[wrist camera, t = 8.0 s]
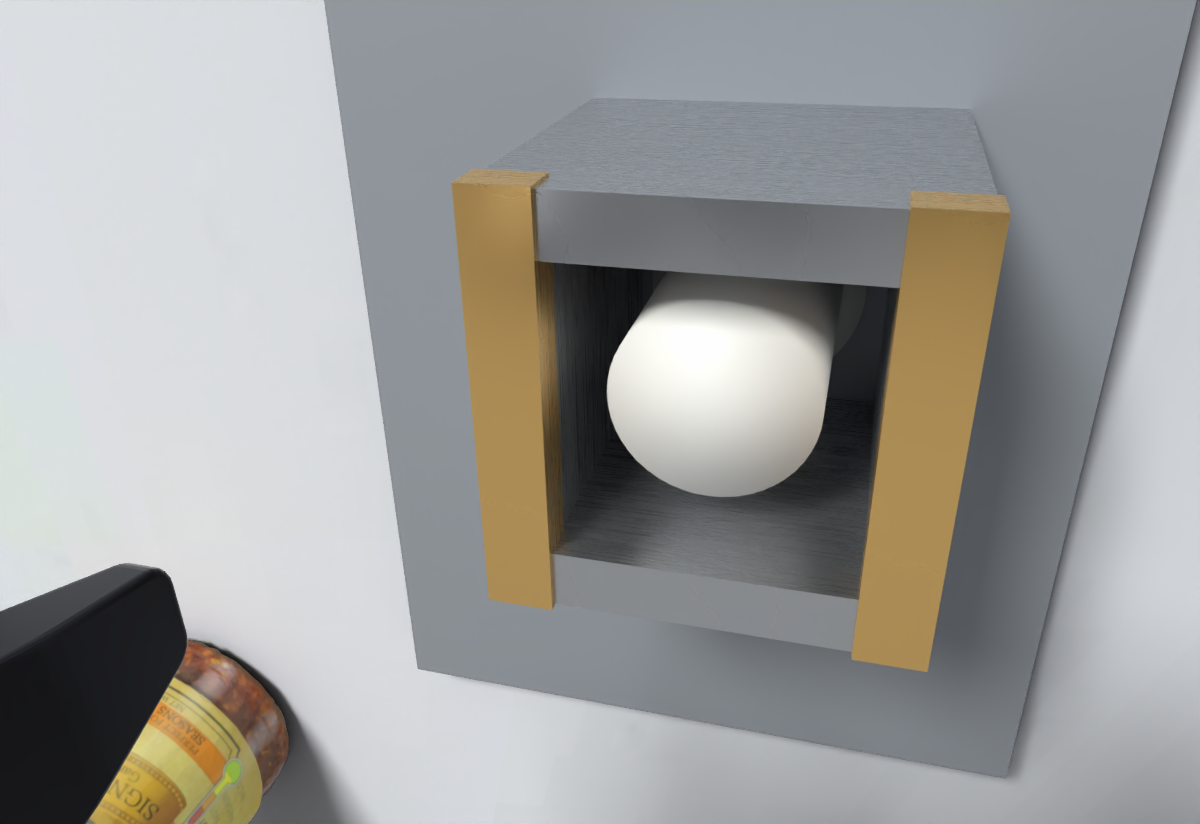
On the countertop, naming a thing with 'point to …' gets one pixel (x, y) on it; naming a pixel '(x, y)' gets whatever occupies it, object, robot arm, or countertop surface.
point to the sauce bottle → (201, 749)
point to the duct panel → (766, 53)
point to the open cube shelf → (749, 249)
